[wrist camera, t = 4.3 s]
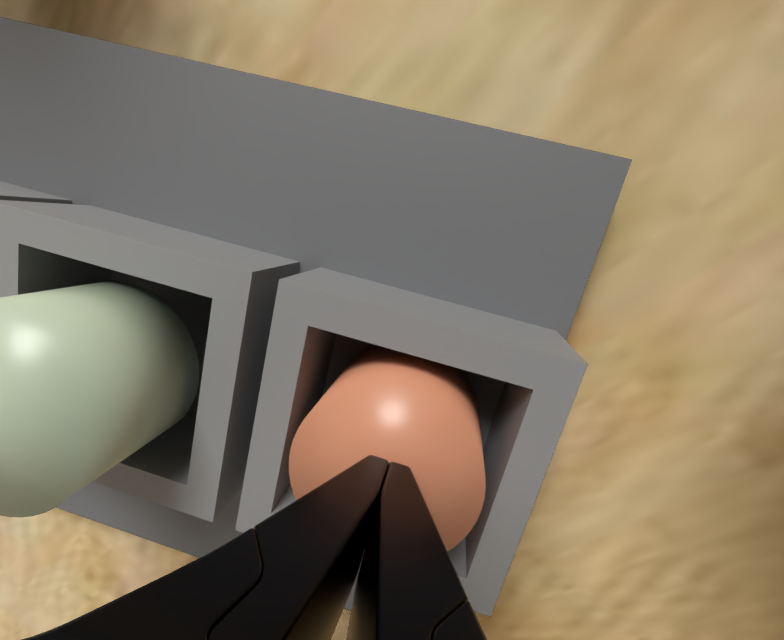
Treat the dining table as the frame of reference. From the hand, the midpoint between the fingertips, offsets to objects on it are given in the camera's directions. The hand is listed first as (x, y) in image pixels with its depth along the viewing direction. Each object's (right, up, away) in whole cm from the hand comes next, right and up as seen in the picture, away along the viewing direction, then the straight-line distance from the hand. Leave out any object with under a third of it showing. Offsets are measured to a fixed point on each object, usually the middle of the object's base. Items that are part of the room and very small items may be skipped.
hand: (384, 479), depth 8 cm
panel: (-6, +3, +6) cm, 9 cm away
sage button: (-6, +2, +2) cm, 7 cm away
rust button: (0, +1, +3) cm, 3 cm away
